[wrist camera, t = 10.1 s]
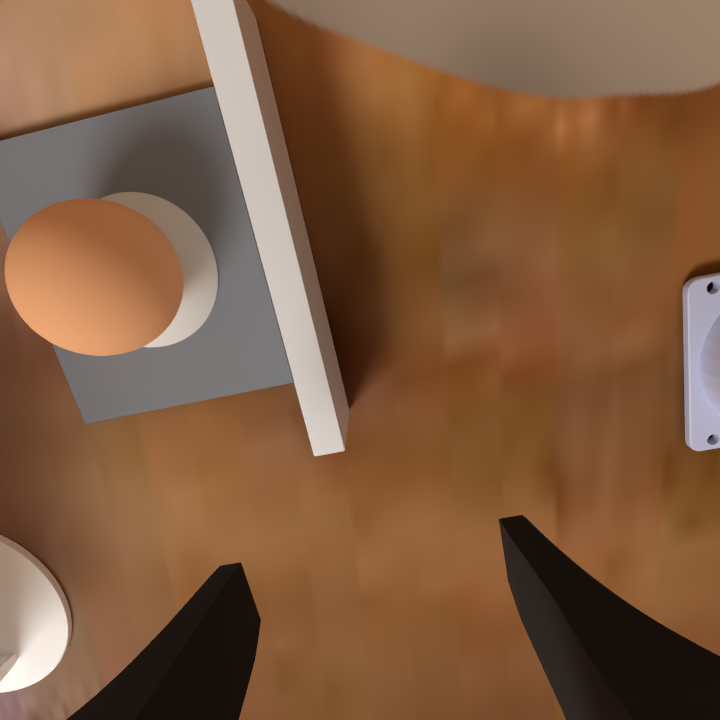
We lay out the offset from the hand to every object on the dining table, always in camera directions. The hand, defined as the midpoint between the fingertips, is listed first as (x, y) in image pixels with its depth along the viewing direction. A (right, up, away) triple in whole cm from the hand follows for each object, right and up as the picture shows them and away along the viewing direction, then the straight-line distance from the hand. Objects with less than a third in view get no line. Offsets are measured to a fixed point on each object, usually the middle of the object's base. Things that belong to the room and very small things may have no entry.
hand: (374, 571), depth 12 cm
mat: (-10, +10, +7) cm, 15 cm away
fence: (-3, +11, +7) cm, 13 cm away
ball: (-10, +9, +4) cm, 14 cm away
